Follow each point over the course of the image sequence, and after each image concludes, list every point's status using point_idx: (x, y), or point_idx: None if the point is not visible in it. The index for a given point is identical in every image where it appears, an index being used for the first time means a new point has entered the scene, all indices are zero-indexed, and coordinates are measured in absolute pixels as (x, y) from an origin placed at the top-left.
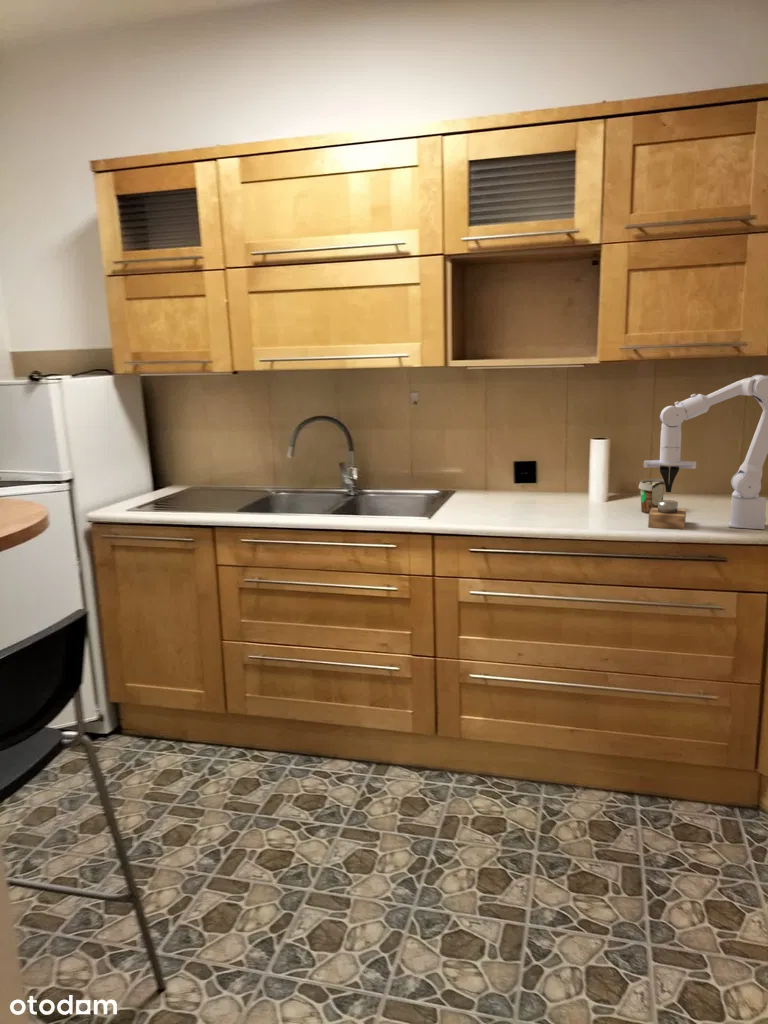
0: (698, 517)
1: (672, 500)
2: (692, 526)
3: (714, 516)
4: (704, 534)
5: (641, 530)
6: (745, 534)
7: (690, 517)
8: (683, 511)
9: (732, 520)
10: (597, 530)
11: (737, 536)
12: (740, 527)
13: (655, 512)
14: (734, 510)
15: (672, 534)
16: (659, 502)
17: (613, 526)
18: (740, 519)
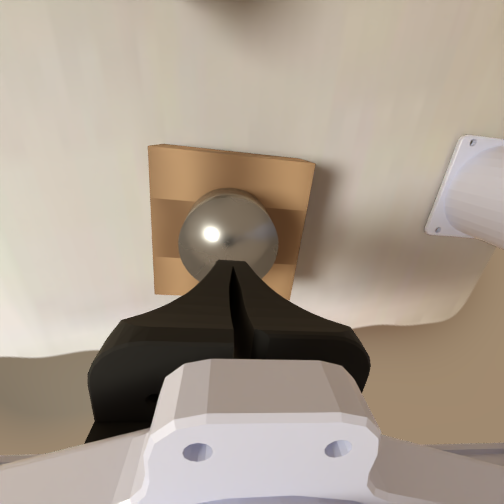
0: (371, 43)
1: (254, 206)
2: (313, 228)
3: (450, 3)
4: (327, 319)
5: (150, 310)
6: (435, 299)
7: (336, 48)
8: (296, 218)
9: (457, 216)
10: (14, 335)
11: (406, 322)
12: (455, 236)
13: (178, 256)
14: (494, 236)
15: None
16: (187, 268)
17: (45, 276)
18: (480, 239)
